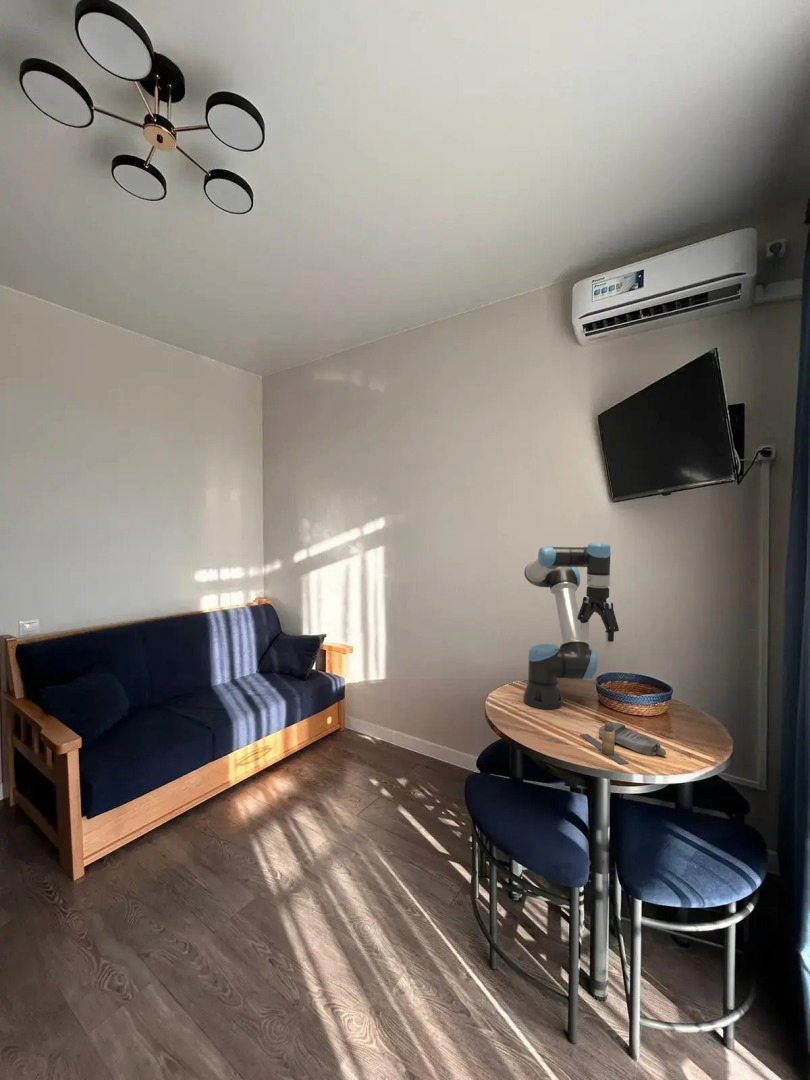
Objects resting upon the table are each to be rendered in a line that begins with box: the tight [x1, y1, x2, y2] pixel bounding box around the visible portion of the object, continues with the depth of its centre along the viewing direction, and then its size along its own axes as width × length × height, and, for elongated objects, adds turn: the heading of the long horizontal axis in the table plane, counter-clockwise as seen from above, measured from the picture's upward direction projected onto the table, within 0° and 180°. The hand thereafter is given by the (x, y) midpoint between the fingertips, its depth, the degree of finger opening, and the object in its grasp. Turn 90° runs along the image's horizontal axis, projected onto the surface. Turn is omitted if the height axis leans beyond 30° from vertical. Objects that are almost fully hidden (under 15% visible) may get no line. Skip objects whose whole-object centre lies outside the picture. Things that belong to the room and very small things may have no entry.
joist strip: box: [579, 733, 629, 765], centre depth 144 cm, size 20×3×1 cm, turn 13°
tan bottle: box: [601, 721, 616, 755], centre depth 141 cm, size 4×4×9 cm
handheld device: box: [598, 722, 667, 757], centre depth 146 cm, size 10×20×5 cm, turn 40°
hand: (596, 645), depth 161 cm, fingers open, 13 cm apart
